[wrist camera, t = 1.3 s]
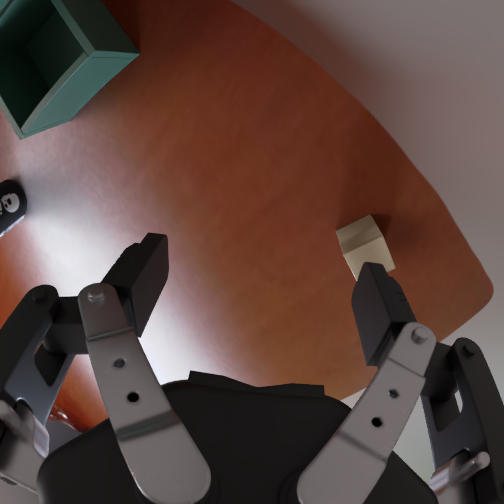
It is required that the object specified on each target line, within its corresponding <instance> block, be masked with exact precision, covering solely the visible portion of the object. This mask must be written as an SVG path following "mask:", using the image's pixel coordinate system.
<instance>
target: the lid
mask: <svg viewBox="0 0 504 504" xmlns="http://www.w3.org/2000/svg"><path fill="white" fill-rule="evenodd" d="M7 2H8V0H0V11H1V10H2V9H3V7H4V6H5V4H6V3H7Z"/></svg>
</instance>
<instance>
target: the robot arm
mask: <svg viewBox="0 0 504 504" xmlns="http://www.w3.org/2000/svg"><path fill="white" fill-rule="evenodd" d="M168 272H169V260H168V238H167V235H165V234H157V233H148V234H147V235H146V236H145V238H144V239H143V240H142V242H141V243H134V244H132V245H131V246H129V247H127V248H126V249H125V250H124V251H123V253H122V254H121V255H120V258H118V259H117V261H116V263H115V264H114V265H113V266H112V267H111V269H110V270H109V272H108V273H107V274H106V276H105V277H104V278H103V280H102V281H101V283H94V284H91V285H88V286H86V287H85V288H83V289H82V290H81V291H80V293H79V295H78V296H73V297H59V295H58V292H57V289H56V288H55V287H53V286H51V285H40V286H37V287H34V288H32V289H31V290H30V291H28V293H27V294H26V295H25V296H24V298H23V299H22V300H21V301H20V303H19V304H18V306H17V307H16V308H15V310H14V311H13V312H12V314H11V315H10V317H9V318H8V319H7V321H6V322H5V324H4V325H3V326H2V328H1V329H0V479H1V480H3V481H5V482H6V483H8V484H12V485H20V486H22V487H24V488H26V489H28V490H30V491H32V492H34V493H36V494H37V495H38V500H39V504H504V405H503V402H502V399H501V397H500V394H499V392H498V389H497V386H496V384H495V381H494V379H493V376H492V374H491V372H490V369H489V367H488V364H487V362H486V360H485V358H484V355H483V353H482V351H481V349H480V348H479V346H478V345H477V344H476V343H475V342H473V341H472V340H470V339H468V338H463V337H462V338H458V339H457V340H456V341H455V343H454V344H453V345H452V346H449V345H445V344H442V343H439V342H436V338H435V335H434V334H433V332H432V331H431V330H430V329H429V328H428V327H426V326H425V325H423V324H420V323H417V321H416V318H415V316H414V314H413V312H412V309H411V307H410V305H409V303H408V302H407V299H406V297H405V295H404V292H403V290H402V288H401V286H400V285H399V284H398V282H397V281H396V280H395V279H394V278H393V277H389V276H388V274H387V272H386V270H385V267H384V265H383V264H380V263H373V262H364V263H363V265H362V268H361V271H360V273H359V276H358V279H357V282H356V285H355V287H354V290H353V293H352V308H353V312H354V316H355V320H356V324H357V328H358V332H359V336H360V340H361V344H362V348H363V352H364V357H365V361H366V365H367V366H377V367H378V371H377V373H376V374H375V376H374V377H373V379H372V380H371V382H370V383H369V385H368V387H367V388H366V390H365V391H364V393H363V394H362V396H361V397H360V398H359V400H358V401H357V403H356V404H355V406H354V407H353V409H351V408H350V407H349V406H347V405H346V404H344V403H343V402H341V401H339V400H337V399H335V398H332V397H330V396H326V395H325V393H324V385H309V384H294V383H291V384H283V385H275V386H267V387H254V386H251V385H248V384H245V383H242V382H240V381H237V380H234V379H231V378H228V377H226V376H222V375H215V374H209V373H203V372H197V371H191V370H190V374H189V378H188V380H179V381H173V382H169V383H166V384H163V385H160V384H159V382H158V380H157V378H156V376H155V374H154V372H153V370H152V368H151V366H150V364H149V361H148V359H147V357H146V355H145V353H144V351H143V349H142V346H141V344H140V342H139V340H138V337H139V338H141V335H142V333H143V331H144V329H145V326H146V324H147V322H148V320H149V318H150V315H151V313H152V311H153V309H154V307H155V305H156V302H157V300H158V298H159V296H160V294H161V292H162V290H163V288H164V286H165V283H166V281H167V278H168ZM41 342H42V343H41ZM40 343H41V345H40ZM39 345H40V347H39V349H38V350H37V348H38V346H39ZM36 350H37V352H36ZM35 352H36V354H35ZM76 354H89V357H90V360H91V364H92V367H93V371H94V374H95V377H96V381H97V384H98V387H99V390H100V393H101V396H102V399H103V402H104V405H105V408H106V410H107V413H108V416H109V418H107V419H105V420H104V421H102V422H101V423H99V424H97V425H96V426H94V427H92V428H91V429H89V430H88V431H86V432H84V433H83V434H81V435H79V436H78V437H76V438H74V439H73V440H71V441H69V442H67V443H66V444H64V445H62V446H60V447H59V448H57V449H55V450H54V451H52V452H51V453H50V454H49V455H48V450H49V449H48V446H49V435H48V432H47V430H46V429H45V427H44V426H45V424H46V421H47V419H48V416H49V414H50V411H51V409H52V406H53V404H54V401H55V399H56V397H57V394H58V392H59V390H60V387H61V385H62V383H63V381H64V379H65V376H66V374H67V372H68V370H69V368H70V365H71V363H72V361H73V359H74V357H75V355H76ZM458 390H459V392H460V395H461V399H462V402H463V407H462V411H461V413H460V412H459V409H458V405H457V401H456V398H455V395H454V394H455V393H456V392H457V391H458ZM419 395H420V396H421V400H422V404H423V409H424V413H425V418H426V423H427V428H428V433H429V438H430V443H431V449H432V455H433V461H434V468H435V472H434V473H433V475H432V477H431V481H430V486H428V485H427V484H426V483H425V482H424V481H423V480H422V479H421V478H420V477H419V476H418V475H417V474H416V473H415V472H414V471H413V470H412V469H411V468H410V467H409V466H408V465H407V464H406V463H405V462H404V461H403V460H402V459H401V458H400V457H399V456H398V455H397V454H396V453H395V452H394V451H393V448H394V446H395V444H396V443H397V441H398V439H399V437H400V435H401V433H402V431H403V429H404V427H405V425H406V423H407V421H408V419H409V417H410V415H411V413H412V411H413V409H414V407H415V404H416V402H417V400H418V398H419Z"/></svg>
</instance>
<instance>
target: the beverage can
mask: <svg viewBox="0 0 504 504" xmlns="http://www.w3.org/2000/svg"><path fill="white" fill-rule="evenodd" d="M26 209H27V200H26V196H25V193H24V191H23V189H22V188H21V187H20V185H18V184H17V183H16V182H13V181H11V180H5V181H3V182H1V183H0V237H2V236H3V235H4V234H5V233H6V232H7V231H9V230H10V229H11V228H12V227H14V226H15V225H16V224H17V223H18V222H20V221H21V220H22V219H23V218H24V216H25V214H26Z"/></svg>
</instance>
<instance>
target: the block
mask: <svg viewBox="0 0 504 504" xmlns="http://www.w3.org/2000/svg"><path fill="white" fill-rule="evenodd" d="M336 234H337V237H338V240H339V243H340V246H341V249H342V252H343V255H344V257H345V259H346V261H347V263H348V265H349V267H350V269H351V271H352V273H353V275H354V277H355V279H356V281H357V279H358V276H359V273H360V271H361V268H362V265H363V263H364V262H373V263H380V264H383V265H384V267H385V270H386V272H389V271H391V270H393V269H395V265H394V263H393V260H392V257H391V255H390V252H389V249H388V247H387V244H386V242H385V239H384V237H383V235H382V233H381V231H380V230H379V228H378V226H377V224H376V223H375V221H374V219H373V218H372V216H371V215H368V216H366V217H364V218H361V219H359V220H357V221H355V222H353V223H351V224H349V225H347V226H345V227H343V228H341V229H339V230H337V231H336Z"/></svg>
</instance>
